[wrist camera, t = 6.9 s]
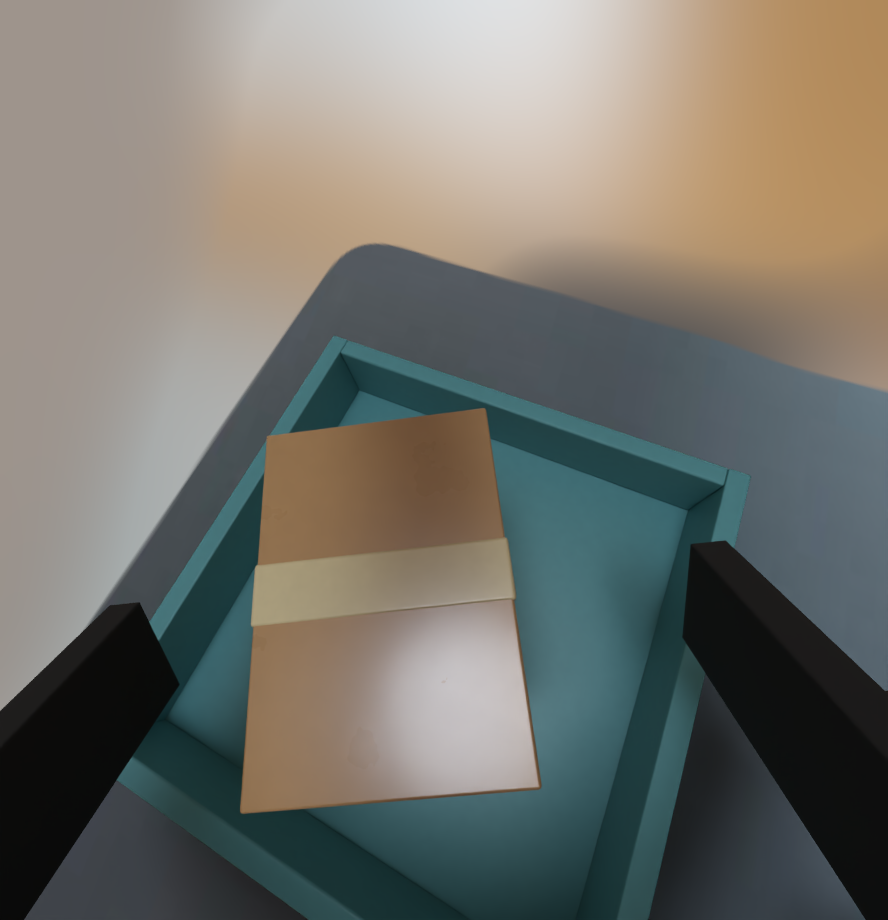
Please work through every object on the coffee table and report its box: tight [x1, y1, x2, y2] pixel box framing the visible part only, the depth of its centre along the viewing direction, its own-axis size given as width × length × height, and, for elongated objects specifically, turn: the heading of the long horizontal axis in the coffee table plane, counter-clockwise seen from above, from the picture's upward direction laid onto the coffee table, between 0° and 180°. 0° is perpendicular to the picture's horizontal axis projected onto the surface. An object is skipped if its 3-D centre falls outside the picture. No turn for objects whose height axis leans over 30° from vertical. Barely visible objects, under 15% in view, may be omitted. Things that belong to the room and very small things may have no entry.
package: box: [240, 408, 542, 814], centre depth 13 cm, size 5×7×9 cm
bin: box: [117, 336, 751, 920], centre depth 16 cm, size 16×16×4 cm
